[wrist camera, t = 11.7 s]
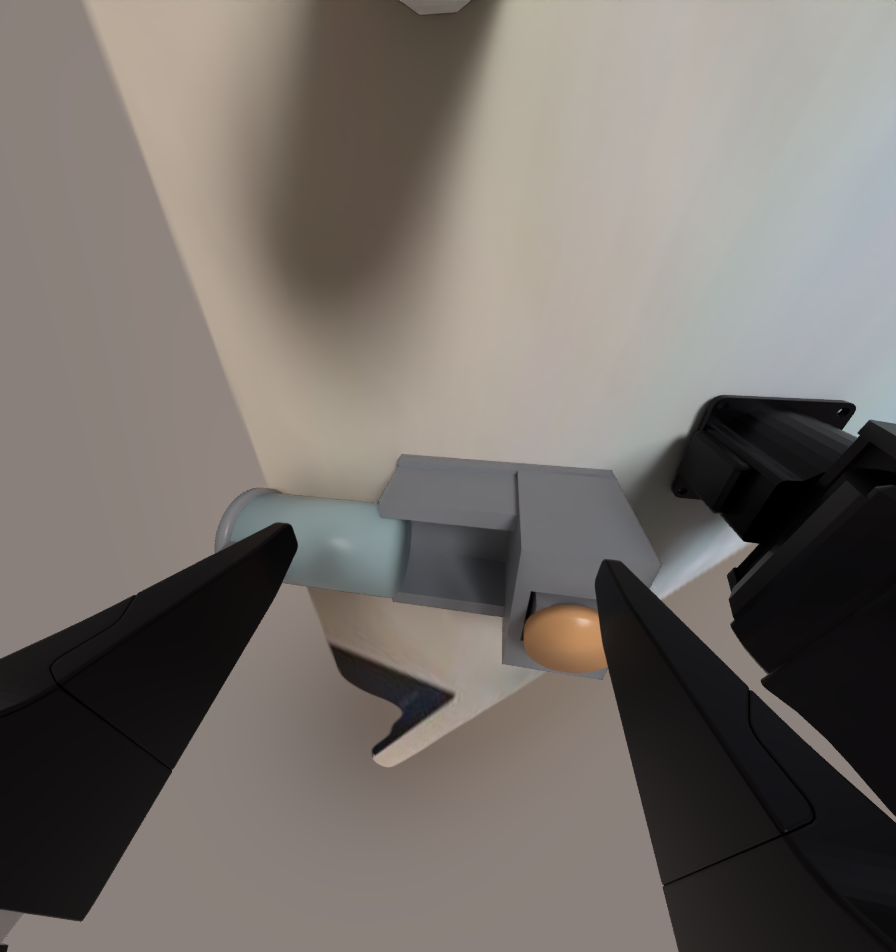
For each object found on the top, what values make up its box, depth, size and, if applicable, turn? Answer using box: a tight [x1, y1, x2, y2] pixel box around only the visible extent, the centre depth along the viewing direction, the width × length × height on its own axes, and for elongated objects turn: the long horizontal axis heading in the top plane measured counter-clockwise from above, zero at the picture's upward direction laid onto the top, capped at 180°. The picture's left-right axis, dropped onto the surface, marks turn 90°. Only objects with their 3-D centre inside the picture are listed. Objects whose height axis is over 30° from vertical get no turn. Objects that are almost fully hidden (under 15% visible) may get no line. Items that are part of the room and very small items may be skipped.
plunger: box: [523, 591, 608, 673], centre depth 17 cm, size 5×5×4 cm
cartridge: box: [215, 488, 412, 598], centre depth 21 cm, size 11×7×10 cm, turn 90°
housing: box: [378, 454, 662, 680], centre depth 21 cm, size 14×10×8 cm
